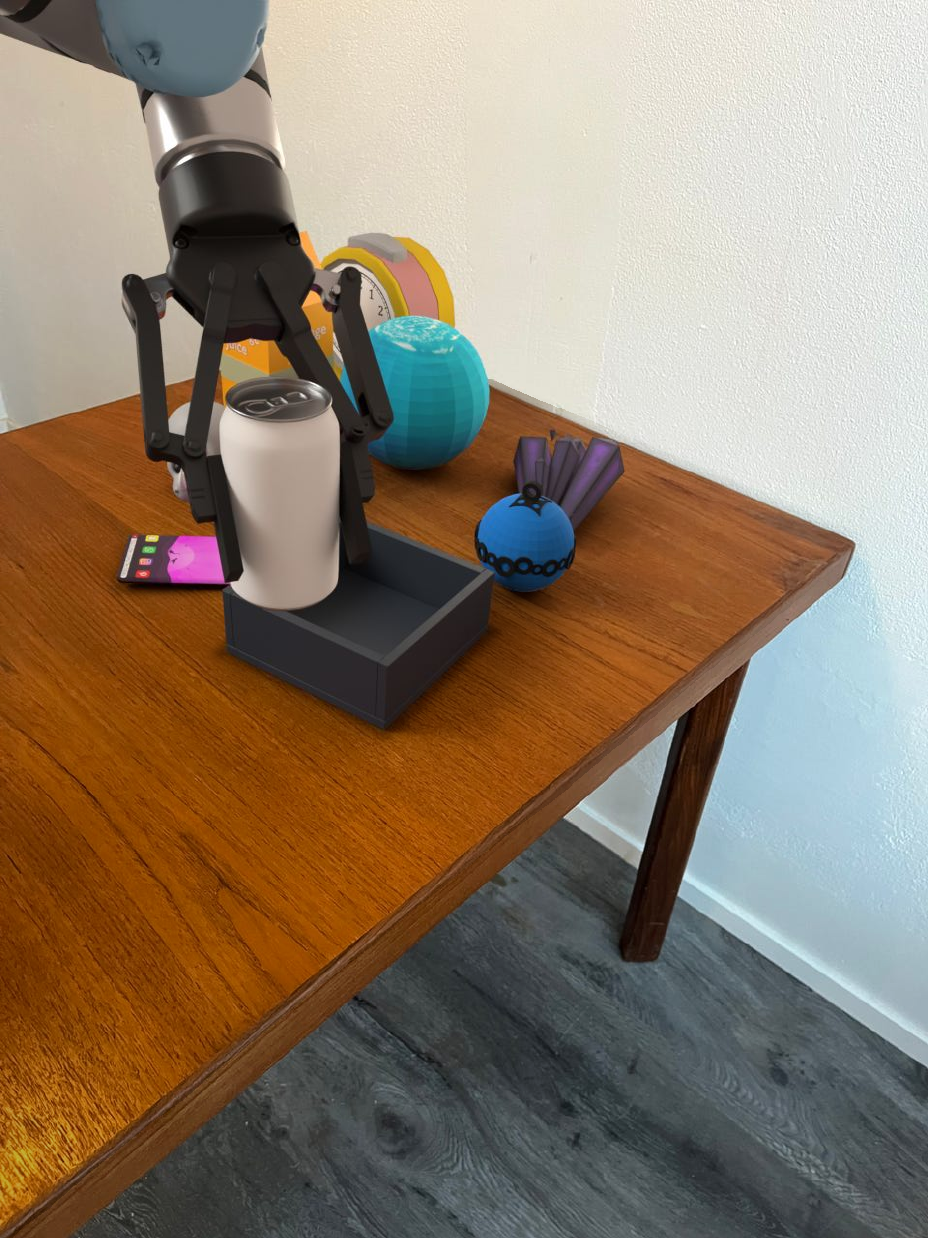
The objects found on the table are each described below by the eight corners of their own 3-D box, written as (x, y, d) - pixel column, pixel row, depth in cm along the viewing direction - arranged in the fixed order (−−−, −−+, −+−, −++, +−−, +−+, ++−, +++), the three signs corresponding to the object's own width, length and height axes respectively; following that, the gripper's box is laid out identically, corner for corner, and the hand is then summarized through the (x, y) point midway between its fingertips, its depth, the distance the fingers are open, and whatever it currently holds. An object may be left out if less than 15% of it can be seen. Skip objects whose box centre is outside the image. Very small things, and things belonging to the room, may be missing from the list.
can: (210, 573, 59) (194, 387, 52) (301, 543, 63) (298, 364, 56) (265, 627, 55) (256, 434, 48) (359, 592, 59) (364, 407, 52)
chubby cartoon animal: (142, 525, 87) (131, 438, 82) (182, 464, 97) (174, 383, 92) (222, 534, 87) (216, 447, 82) (254, 472, 97) (250, 391, 92)
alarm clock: (307, 386, 115) (306, 223, 104) (357, 369, 120) (360, 213, 110) (399, 428, 108) (408, 259, 97) (448, 408, 113) (461, 246, 102)
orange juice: (223, 428, 104) (210, 234, 92) (286, 406, 110) (281, 221, 98) (272, 454, 100) (266, 255, 89) (334, 429, 106) (336, 240, 94)
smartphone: (131, 541, 85) (129, 532, 84) (305, 542, 87) (305, 534, 86) (117, 588, 79) (115, 579, 79) (304, 589, 81) (304, 580, 81)
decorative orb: (313, 444, 103) (312, 303, 94) (433, 420, 110) (443, 287, 101) (383, 509, 93) (389, 358, 84) (510, 478, 101) (528, 337, 92)
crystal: (607, 502, 85) (638, 399, 100) (479, 487, 88) (528, 389, 103) (602, 568, 90) (633, 460, 104) (482, 552, 92) (528, 449, 107)
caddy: (226, 652, 74) (221, 589, 71) (342, 569, 84) (343, 511, 81) (384, 730, 68) (387, 666, 65) (487, 631, 79) (495, 571, 76)
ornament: (581, 575, 87) (599, 475, 81) (547, 624, 80) (564, 519, 75) (493, 547, 89) (505, 448, 84) (453, 592, 83) (463, 489, 77)
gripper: (368, 215, 63) (440, 558, 61) (48, 221, 57) (116, 606, 54) (398, 145, 56) (481, 528, 54) (37, 141, 50) (115, 580, 47)
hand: (298, 566), depth 54 cm, fingers closed on can, 6 cm apart
